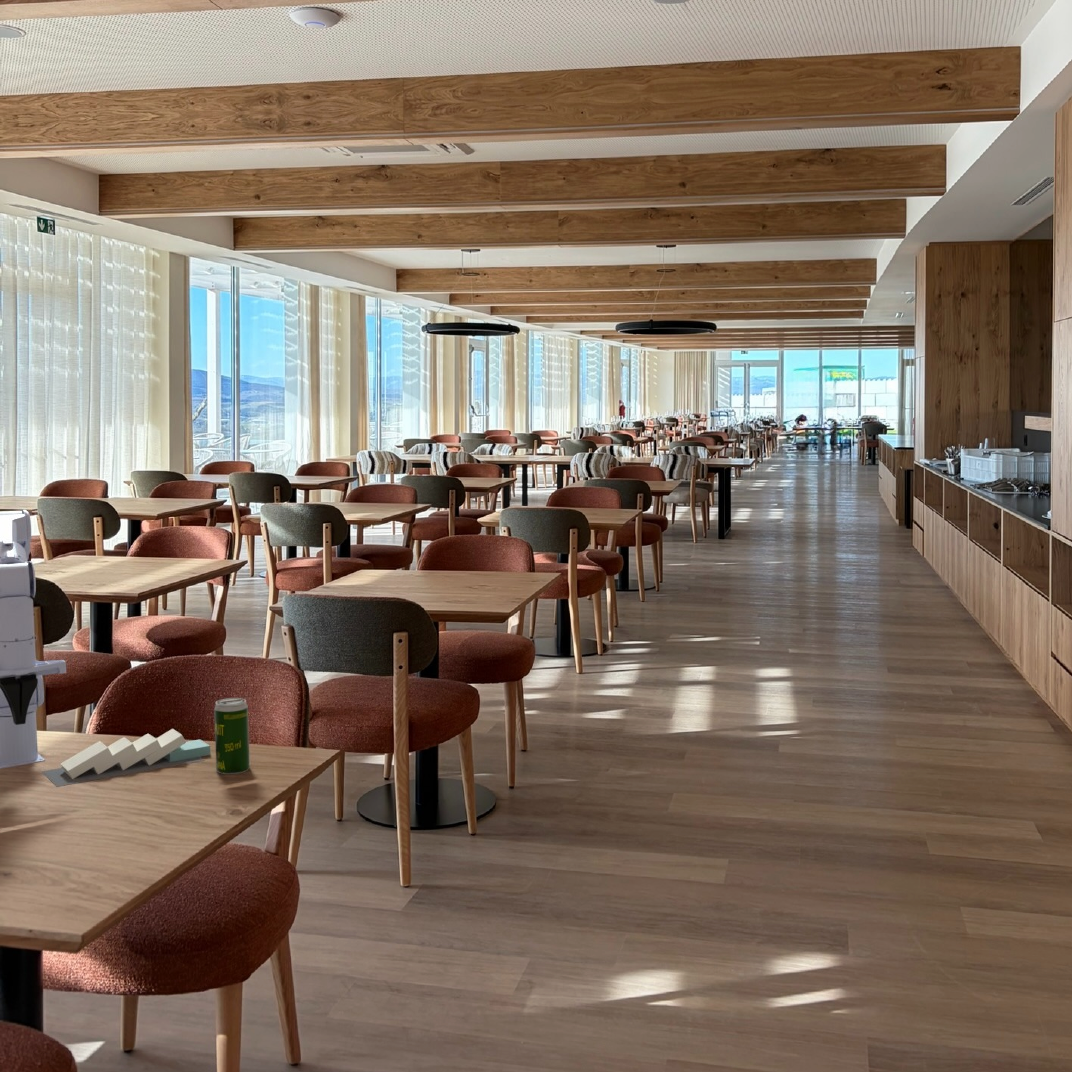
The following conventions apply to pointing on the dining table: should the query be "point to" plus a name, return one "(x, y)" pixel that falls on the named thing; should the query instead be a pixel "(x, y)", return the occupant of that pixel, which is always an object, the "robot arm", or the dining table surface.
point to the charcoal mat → (111, 771)
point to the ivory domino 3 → (140, 750)
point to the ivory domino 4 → (165, 746)
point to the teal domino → (189, 751)
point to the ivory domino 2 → (116, 754)
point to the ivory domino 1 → (86, 759)
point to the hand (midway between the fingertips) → (19, 723)
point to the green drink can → (231, 736)
